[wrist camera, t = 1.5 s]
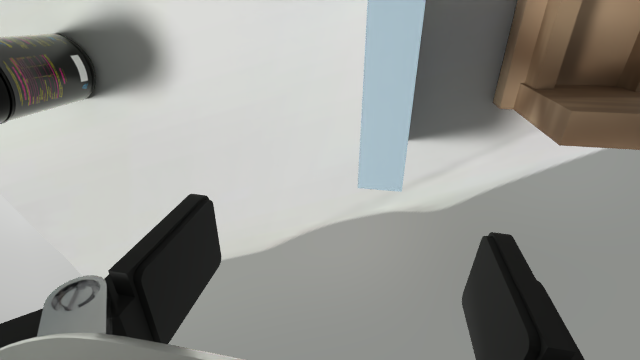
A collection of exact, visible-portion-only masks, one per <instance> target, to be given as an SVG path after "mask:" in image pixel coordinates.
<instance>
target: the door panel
mask: <svg viewBox="0 0 640 360" xmlns="http://www.w3.org/2000/svg"><path fill="white" fill-rule="evenodd" d="M425 2H426V0H368V6H367V25H366V43H365V62H364V81H363V100H362V118H361V137H360V156H359V174H358V188H365V189H377V190H389V191H400V192H402V184H403V176H404V169H405V161H406V153H407V145H408V137H409V129H410V121H411V113H412V105H413V97H414V89H415V81H416V74H417V66H418V58H419V50H420V42H421V34H422V26H423V18H424V10H425Z"/></svg>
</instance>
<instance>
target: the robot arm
mask: <svg viewBox="0 0 640 360" xmlns="http://www.w3.org/2000/svg"><path fill="white" fill-rule="evenodd" d="M220 262H221V252H220V245H219V239H218V232H217V226H216V219H215V213H214V207H213V202H212V201H211V200H209V198H208V197H207V196H205V195H197V194H190V195H188V196H187V197H186V198H185V199H184V200H183V201H182V202H181V203H180V204H179V205H178V206H177V207H176V208H175V209H174V210H172V211H171V212H170V213H169V214H168V215H167V216H166V217H165V218H164V219H163V220H162V221H161V222H160V223H159V224H158V225H156V226H155V227H154V228H153V229H152V230H151V231H150V232H149V233H148V234H147V235H146V236H145V237H144V238H143V239H142V240H140V241H139V242H138V243H137V244H136V245H135V246H134V247H133V248H132V249H131V250H130V251H129V252H128V253H127V254H126V255H125V256H123V257H122V258H121V259H120V260H119V261H118V262H117V263H116V264H115V265H114V266H113V267H112V268H111V269H110V270H109V275H108V276H107V277H106V278H105V279H103V278H102V277H99V276H83V277H78V278H76V279H73V280H70V281H68V282H66V283H64V284H63V285H61V286H59V287H58V288H57V289H55V290H54V291H53V292H52V293H51V294H50V295H49V296H48V298H47V299H46V301H45V303H44V307H43V309H40V310H38V311H35V312H32V313H29V314H27V315H24V316H21V317H18V318H15V319H12V320H10V321H7V322H4V323H1V324H0V360H244V359H239V358H234V357H229V356H224V355H219V354H214V353H209V352H204V351H199V350H194V349H188V348H184V347H179V346H174V345H169V344H168V343H169V342H170V340H171V338H172V337H173V336H174V334H175V333H176V331H177V330H178V328H179V326H180V325H181V323H182V322H183V320H184V319H185V317H186V316H187V314H188V313H189V311H190V310H191V308H192V306H193V305H194V303H195V302H196V300H197V299H198V297H199V296H200V294H201V293H202V291H203V290H204V288H205V287H206V285H207V284H208V282H209V281H210V279H211V278H212V276H213V275H214V273H215V271H216V270H217V268H218V267H219V265H220ZM462 305H463V309H464V314H465V318H466V322H467V325H468V329H469V333H470V337H471V341H472V345H473V349H474V353H475V357H476V360H584V358H583V356H582V354H581V353H580V351H579V349H578V347H577V345H576V344H575V342H574V340H573V338H572V337H571V335H570V333H569V331H568V329H567V328H566V326H565V324H564V322H563V321H562V319H561V317H560V315H559V313H558V312H557V310H556V308H555V306H554V305H553V303H552V301H551V299H550V297H549V296H548V294H547V292H546V290H545V288H544V287H543V285H542V284H541V283H540V282H539V281H537V280H536V278H535V277H534V275H533V273H532V271H531V269H530V268H529V266H528V264H527V262H526V260H525V258H524V257H523V255H522V253H521V251H520V249H519V248H518V246H517V244H516V242H515V240H514V238H513V237H512V236H511V235H508V234H501V233H493V232H491V233H490V234H489V235H488V236H483V238H482V240H481V242H480V245H479V248H478V251H477V254H476V257H475V260H474V263H473V266H472V269H471V272H470V275H469V278H468V281H467V283H466V286H465V289H464V292H463V297H462Z"/></svg>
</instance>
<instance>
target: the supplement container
mask: <svg viewBox="0 0 640 360" xmlns="http://www.w3.org/2000/svg"><path fill="white" fill-rule="evenodd" d="M94 87H95V72H94V68H93V65H92V63H91V61H90V59H89V58H88V56H87V55H86V53H85V52H84V51H83V50H82V49H81V48H80V47H79V46H78V45H77V44H76V43H74V42H73V41H71V40H70V39H68V38H66V37H63V36H60V35H57V34H41V35H25V36H8V37H0V124H2V123H5V122H7V121H10V120H13V119H17V118H20V117H24V116H28V115H31V114H35V113H38V112H42V111H45V110H49V109H52V108H56V107H60V106H63V105H67V104H70V103H74V102H77V101H81V100H84V99H86V98H87V97H88V96H89V95H90V94H91V93H92V92H93V90H94Z"/></svg>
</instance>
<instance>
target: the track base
mask: <svg viewBox="0 0 640 360" xmlns="http://www.w3.org/2000/svg"><path fill="white" fill-rule="evenodd" d="M493 103H494V104H495V105H496V106H497V107H498V108H500V109H514V110H515V111H516V112H517V113H519V114H520V115H521V116H523V117H524V118H525V119H526V120H528V121H529V122H530V123H532V124H533V125H534V126H535V127H537V128H538V129H539V130H541V131H542V132H543V133H544V134H546V135H547V136H548V137H550V138H551V139H552V140H553V141H555V142H556V143H557V144H559V145H564V146H582V147H600V148H618V149H636V150H640V0H518V1H517V5H516V9H515V13H514V17H513V21H512V25H511V30H510V34H509V38H508V42H507V46H506V50H505V54H504V58H503V63H502V67H501V71H500V75H499V79H498V83H497V87H496V92H495V96H494V100H493Z"/></svg>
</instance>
